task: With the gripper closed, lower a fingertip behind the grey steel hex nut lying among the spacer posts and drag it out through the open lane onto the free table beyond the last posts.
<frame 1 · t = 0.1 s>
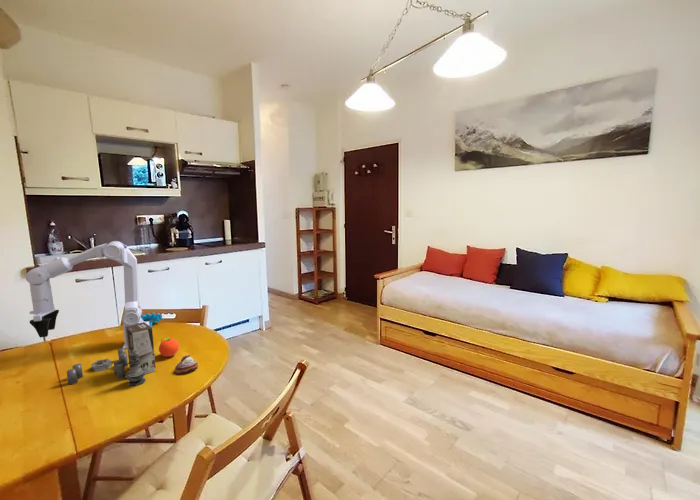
hand: (47, 333, 125), 10 cm above the table, fingers open, 7 cm apart
salt shaker: (136, 383, 110), on the table
coffee box: (142, 370, 118), on the table
clementine: (168, 356, 129), on the table
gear: (150, 326, 159), on the table
pastry: (187, 370, 118), on the table
spacers: (101, 367, 119), on the table
nut: (101, 368, 120), on the table
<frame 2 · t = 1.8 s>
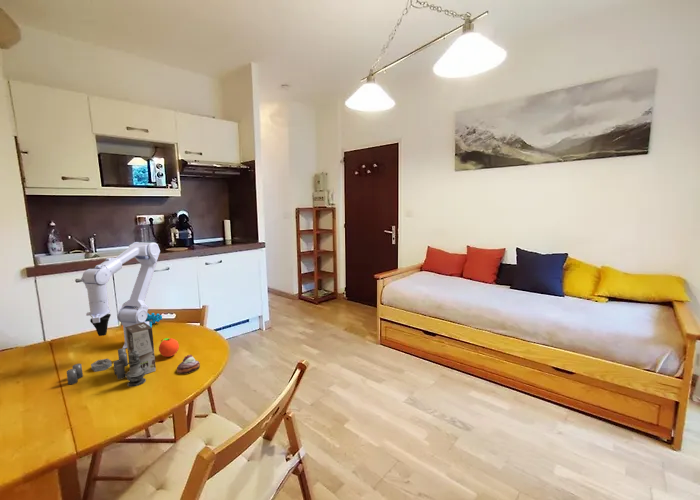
hand: (102, 334, 124), 10 cm above the table, fingers closed
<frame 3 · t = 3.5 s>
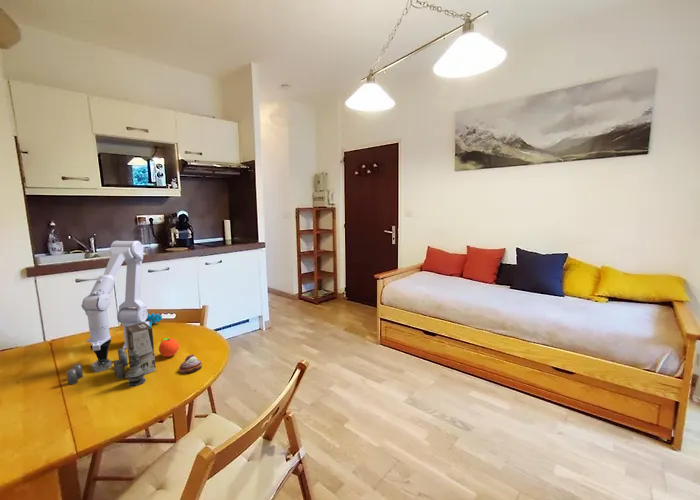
hand: (103, 361, 122), 1 cm above the table, fingers closed
nut: (101, 368, 119), on the table, touching gripper
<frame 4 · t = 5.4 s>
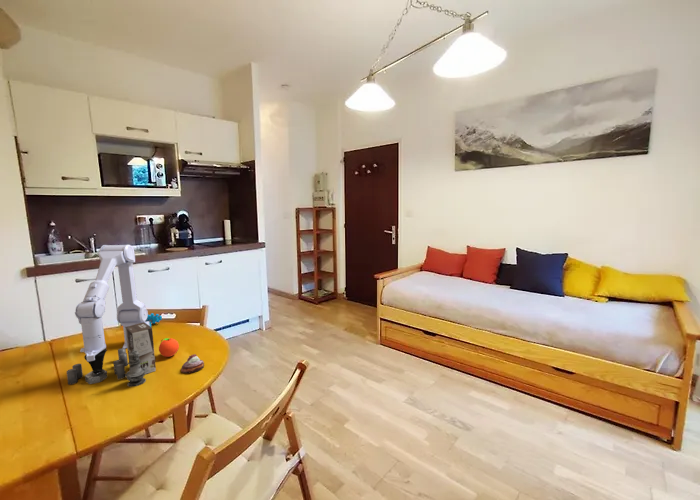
hand: (98, 371, 115), 1 cm above the table, fingers closed
nut: (96, 379, 112), on the table, touching gripper
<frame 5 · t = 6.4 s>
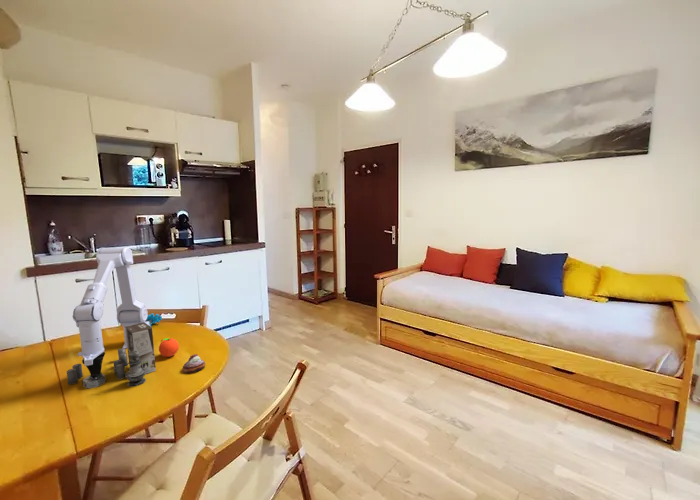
hand: (96, 375, 112), 1 cm above the table, fingers closed
nut: (94, 383, 109), on the table, touching gripper
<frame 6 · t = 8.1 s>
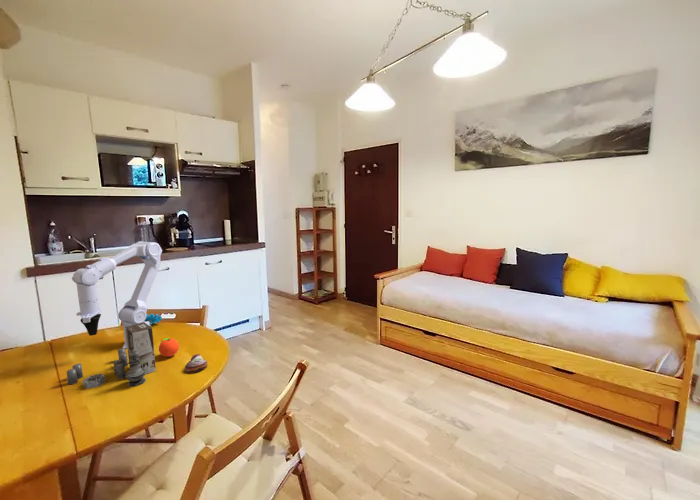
hand: (93, 334, 124), 10 cm above the table, fingers closed
nut: (94, 384, 109), on the table
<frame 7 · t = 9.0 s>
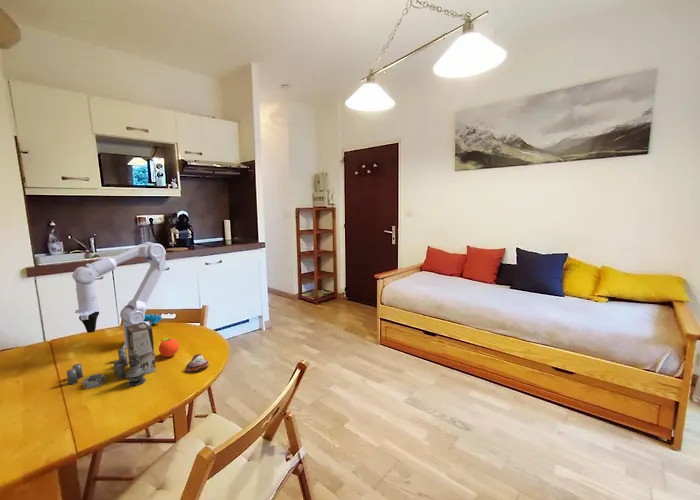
hand: (91, 331, 127), 10 cm above the table, fingers closed
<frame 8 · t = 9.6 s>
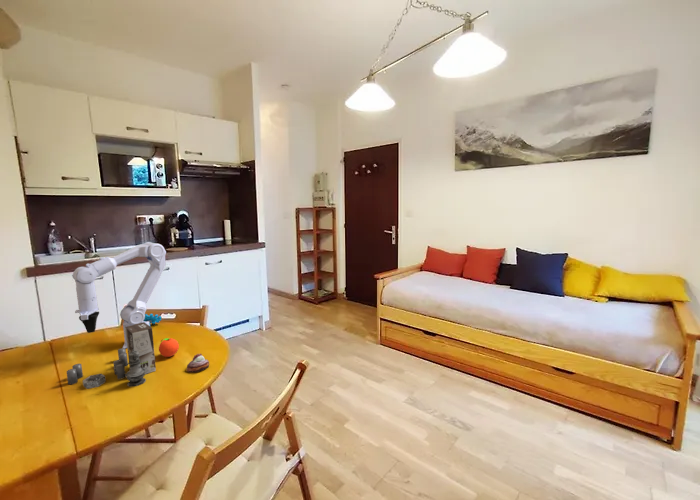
hand: (91, 331, 127), 10 cm above the table, fingers closed
at the end: nut inside the target area (6.0 cm from its centre), on the table; nut moved 12.1 cm from its start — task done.
